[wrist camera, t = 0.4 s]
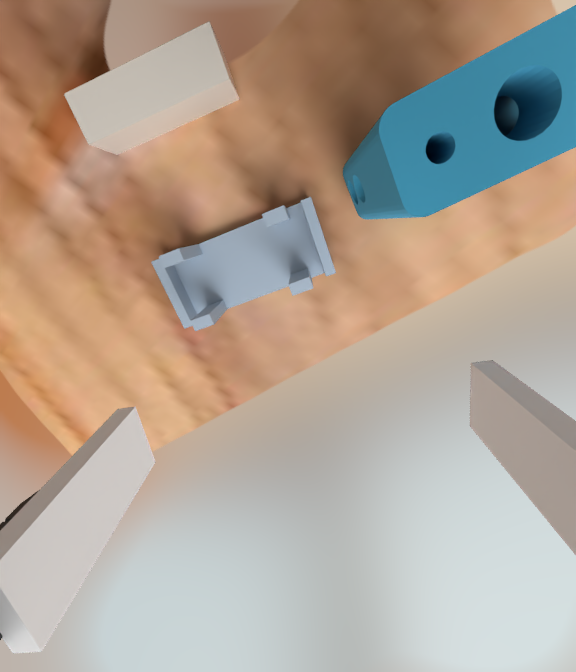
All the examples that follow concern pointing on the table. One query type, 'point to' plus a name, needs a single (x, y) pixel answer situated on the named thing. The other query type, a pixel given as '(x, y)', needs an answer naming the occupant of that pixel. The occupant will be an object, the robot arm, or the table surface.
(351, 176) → the block
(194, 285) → the rack
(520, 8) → the table surface
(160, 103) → the white rectangular bar
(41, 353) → the table surface
